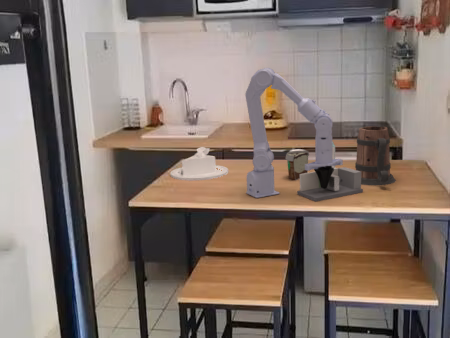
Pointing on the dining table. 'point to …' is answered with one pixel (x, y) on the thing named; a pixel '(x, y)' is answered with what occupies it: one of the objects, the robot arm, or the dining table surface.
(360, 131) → the tankard
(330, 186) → the grey rectangular block
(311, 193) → the base
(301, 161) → the food container
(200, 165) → the dish
